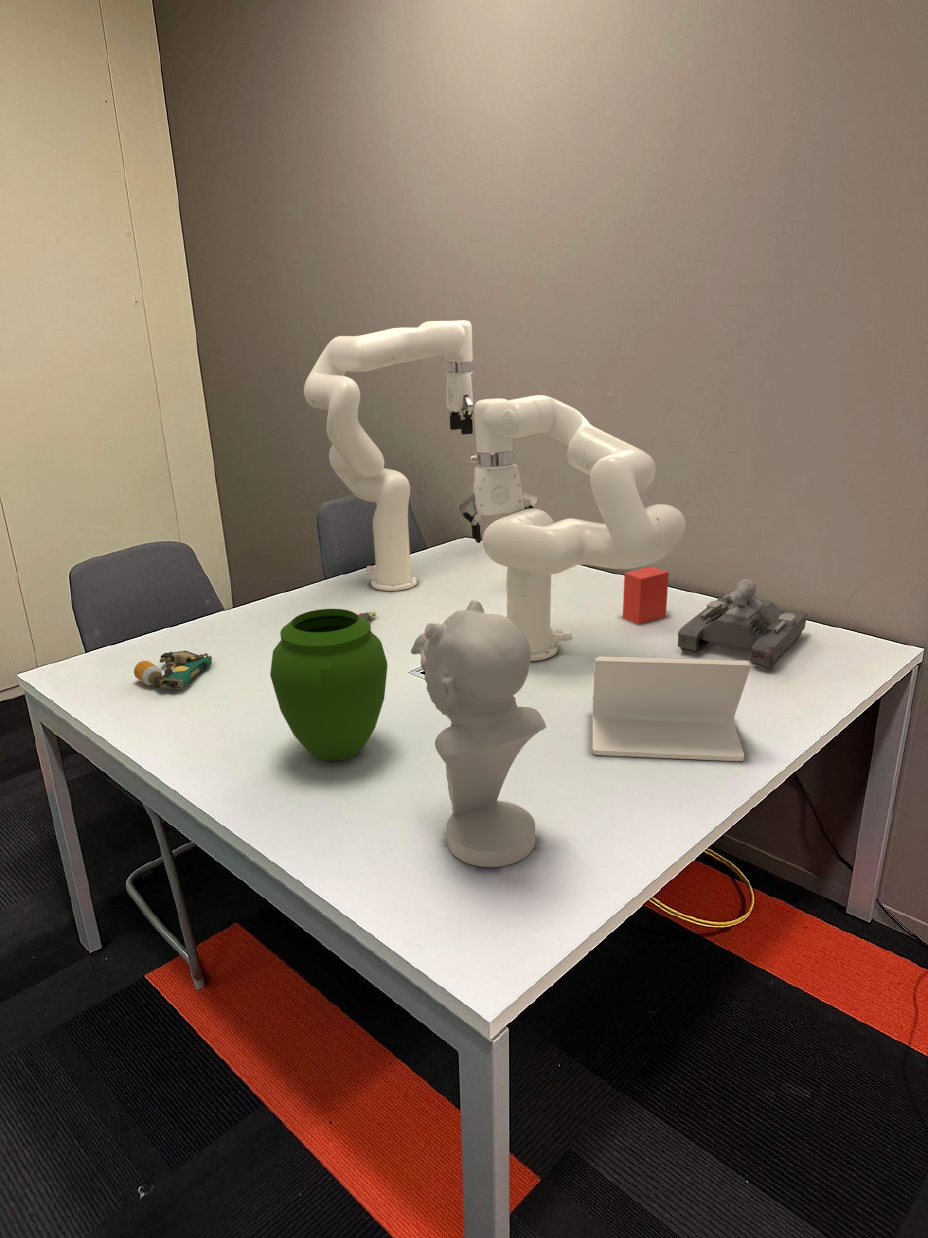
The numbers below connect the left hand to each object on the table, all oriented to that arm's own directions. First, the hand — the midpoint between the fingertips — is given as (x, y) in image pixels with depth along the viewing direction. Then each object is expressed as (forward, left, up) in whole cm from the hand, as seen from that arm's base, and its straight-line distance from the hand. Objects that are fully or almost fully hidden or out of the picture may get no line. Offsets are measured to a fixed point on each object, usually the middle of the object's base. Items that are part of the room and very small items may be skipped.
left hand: (461, 431), depth 239 cm
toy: (+86, -32, -38) cm, 99 cm away
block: (+61, -24, -38) cm, 76 cm away
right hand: (+37, -53, -14) cm, 66 cm away
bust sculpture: (+64, -120, -38) cm, 141 cm away
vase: (+32, -109, -38) cm, 120 cm away
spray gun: (-18, -97, -38) cm, 106 cm away
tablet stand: (+81, -79, -38) cm, 119 cm away
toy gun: (0, -60, -38) cm, 71 cm away
